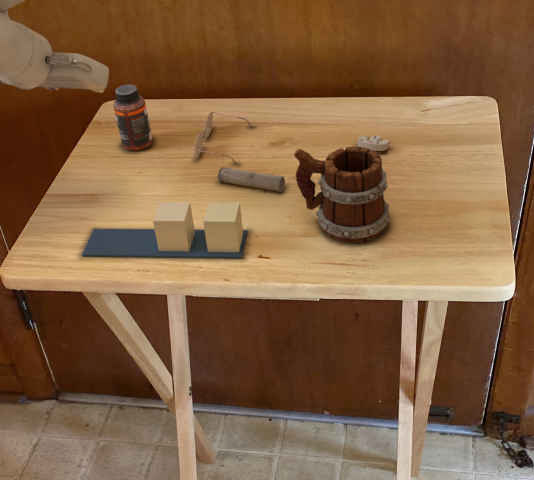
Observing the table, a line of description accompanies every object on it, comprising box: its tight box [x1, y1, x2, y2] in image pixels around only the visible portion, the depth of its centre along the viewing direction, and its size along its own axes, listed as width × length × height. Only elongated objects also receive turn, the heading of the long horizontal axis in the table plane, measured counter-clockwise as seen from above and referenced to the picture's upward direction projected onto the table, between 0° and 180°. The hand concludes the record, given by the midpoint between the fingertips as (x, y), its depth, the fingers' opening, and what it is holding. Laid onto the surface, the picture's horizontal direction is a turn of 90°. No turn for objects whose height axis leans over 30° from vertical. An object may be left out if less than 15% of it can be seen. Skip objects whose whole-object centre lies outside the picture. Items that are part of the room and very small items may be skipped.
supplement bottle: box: [113, 84, 153, 151], centre depth 152 cm, size 6×6×11 cm
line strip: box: [81, 228, 249, 260], centre depth 132 cm, size 26×7×1 cm, turn 83°
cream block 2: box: [202, 202, 244, 252], centre depth 128 cm, size 5×5×6 cm
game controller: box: [356, 134, 390, 152], centre depth 145 cm, size 6×12×3 cm, turn 173°
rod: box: [217, 166, 286, 193], centre depth 142 cm, size 12×3×3 cm, turn 68°
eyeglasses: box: [193, 110, 253, 165], centre depth 152 cm, size 14×8×4 cm, turn 168°
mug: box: [293, 146, 390, 244], centre depth 128 cm, size 12×14×15 cm
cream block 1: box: [152, 201, 196, 252], centre depth 129 cm, size 5×5×6 cm
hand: (78, 87), depth 138 cm, fingers open, 8 cm apart
